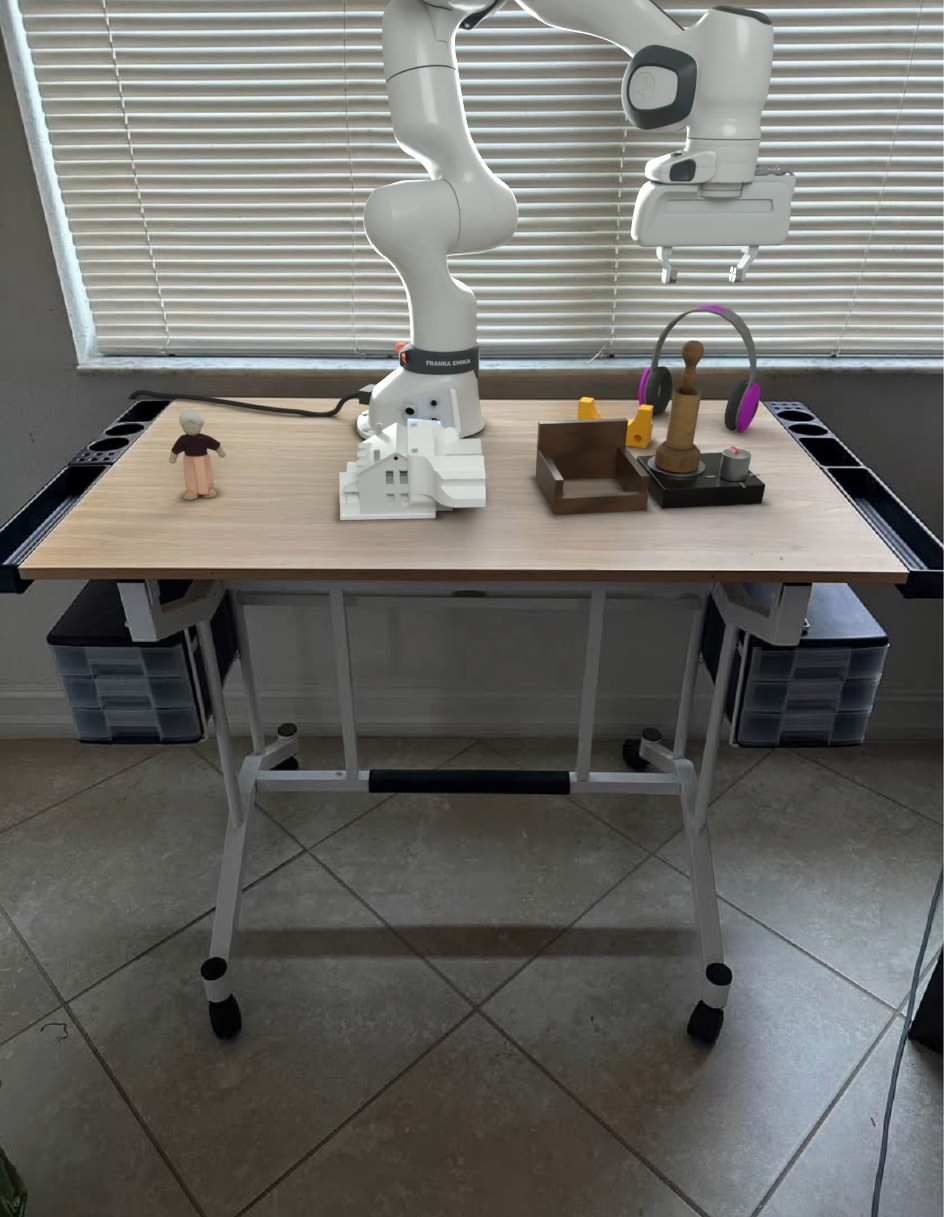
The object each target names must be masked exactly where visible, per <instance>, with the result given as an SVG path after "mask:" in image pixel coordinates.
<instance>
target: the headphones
mask: <svg viewBox="0 0 944 1217" xmlns="http://www.w3.org/2000/svg"><path fill="white" fill-rule="evenodd" d="M692 313H709V314H713V315H717V316H720V317H721V318H722V319H724V320H725V321H727V322H728V323H730V324H731V325H732V326H733V328H734V329H735V330H736V331H737V333H738V334H739V335H740V337H741V339H742V341H743V343H744V345H745V348H746V350H747V355H748V360H749V377H748V380H747V379H741V380H739V381H738V382H737V383H736V385H735V386H734V387H733V389H732V390H731V393H730V395H729V397H728V400H727V403H726V406H725V410H724V416H723V417H724V419H723V421H724V426H725V428H726V429H727V430H729V431H735V430H738V432H739V433H742V432H746V431H747V429H748V428H749V427H750V425H751V423H752V421H753V420H754V418H755V416H756V414H757V412H758V409H759V404H760V403H759V402H760V395H761V394H760V393H761V387H760V386H761V385H760V384H759V383H757V382H755V381H756V374H757V373H756V372H757V361H758V360H757V353H756V346H755V342H754V339H753V337H752V334H751V331H750V328H749V327H748V325H747V324H746V322H744V320H743V319H742V317H741V316H740V315H738V313H736V312H735V311H733V310H732V309H731V308H729V307H726V306H723V305H719V304H702V305H698V306H696V307H694V308H691V309H689V310H687V311H685V312H683V313H681V314H679V315H678V316H676V317H675V318H674V319H672V320H671V321H670V322H669V323H668V324H666V327H665V328H664V330H662V331H661V333H660V335H659V337H658V339H657V342H656V344H655V346H654V348H653V352H652V359H651V363H650V366H648V367H646V369H645V370H644V372H643V374H642V376H641V380H640V384H639V387H638V388H639V389H638V405H639V407H640V406H641V405H642V404H643V405H651V406H653V413H652V416H660V415H662V414H664V412H665V411H667V408H668V405H669V403H670V402H671V401H670V400H671V397H672V393H673V379H672V374H671V371H670V370H669V368H668V367H667V366H664V365H661V366H659V361H660V357H661V356H660V355H661V354H662V353H661V352H662V348H663V345H664V343H665V341H666V339H667V337H668V335H669V334H670V333H671V331H672V329H673V328H675V326H676V325H677V324H678V322H679V321H681V320H683V318H685V317H686V316H688V315H689V314H692Z"/></svg>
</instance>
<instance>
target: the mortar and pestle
mask: <svg viewBox="0 0 944 1217" xmlns="http://www.w3.org/2000/svg"><path fill="white" fill-rule="evenodd" d="M704 354H705V347H704V345H703V343H702V342H701V341H699V340H694V339H693V340H688V341H686V342H685V343H684V344H683V346H682V348H681V357H682V359H683V362H684V364H685V366H684V370H683V372H681V375H680V376H681V377H680V378H681V386H676V387H674V388H673V389H672V396H671V397H672V398H671V407H670V411H669V418H668V425H667V433H666V438H665V440H664V441H662V442H661V443H660V444H658V445H656V448H655V454H654V455H655V464H656V465H657V466H658V467H660V468H661V469H664V470H667V471H672V472H691V471H694V470H696V469H697V468H698V466H699V461H700V455H701V453H702V452H701V449H699V447H697V445H696V444H695V443H694V440H695V434H696V427H697V423H698V416H699V410H700V406H701V399H702V390H700V389H699V388H696V387H695V385H696V383H697V381H698V377H699V374H698V373H697V372H696V368H697V365H698V364H699V363H700V362H701V360H702V358H703V356H704Z"/></svg>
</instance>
